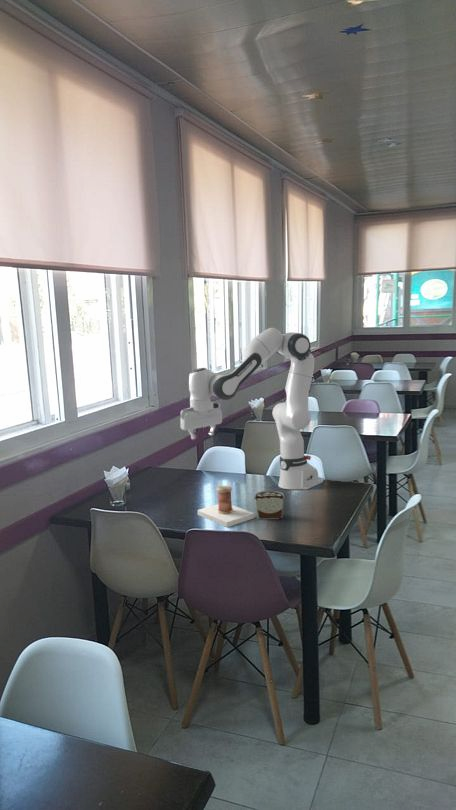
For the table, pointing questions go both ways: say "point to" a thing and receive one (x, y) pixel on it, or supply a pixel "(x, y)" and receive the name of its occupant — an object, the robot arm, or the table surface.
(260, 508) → the food container
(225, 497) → the cord spool
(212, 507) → the shelf board
